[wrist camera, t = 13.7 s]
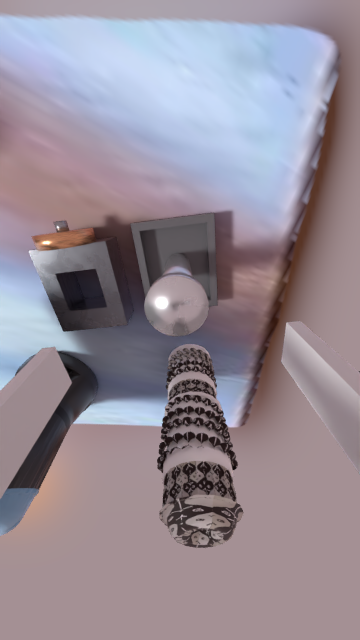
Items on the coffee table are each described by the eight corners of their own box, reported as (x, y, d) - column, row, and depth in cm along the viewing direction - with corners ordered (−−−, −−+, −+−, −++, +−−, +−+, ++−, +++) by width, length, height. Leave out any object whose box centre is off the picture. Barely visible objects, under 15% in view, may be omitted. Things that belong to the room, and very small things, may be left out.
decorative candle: (171, 337, 38) (161, 509, 16) (219, 347, 39) (271, 521, 17) (161, 374, 42) (142, 551, 20) (205, 382, 44) (231, 559, 21)
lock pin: (196, 280, 32) (210, 333, 18) (163, 283, 33) (150, 339, 18) (193, 245, 30) (206, 273, 16) (158, 249, 30) (138, 281, 16)
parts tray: (215, 299, 35) (217, 305, 33) (150, 306, 35) (148, 312, 33) (211, 212, 29) (214, 212, 27) (134, 222, 30) (130, 223, 27)
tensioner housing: (133, 310, 36) (122, 335, 29) (77, 316, 36) (53, 342, 29) (110, 215, 29) (88, 216, 22) (42, 224, 30) (-2, 228, 22)
